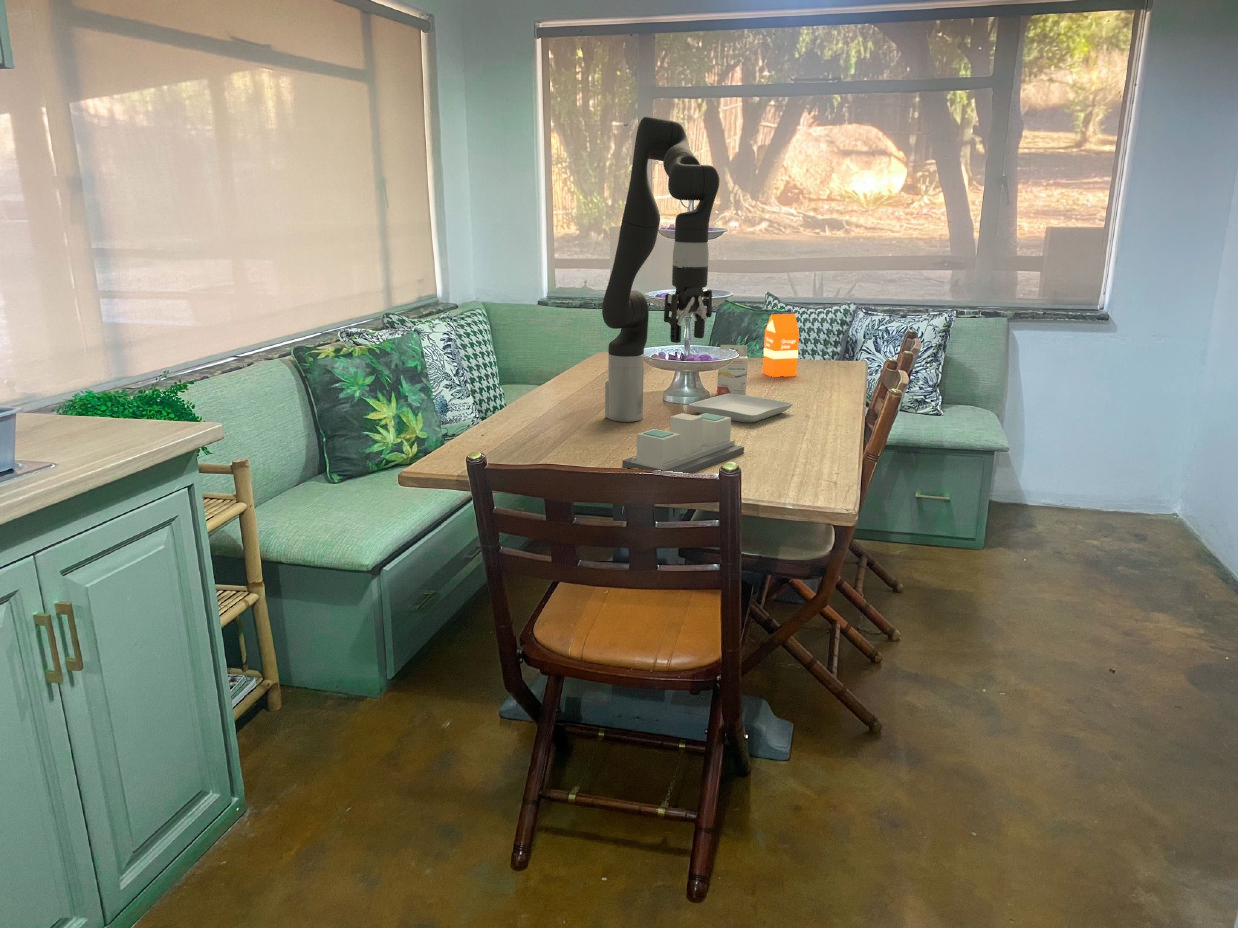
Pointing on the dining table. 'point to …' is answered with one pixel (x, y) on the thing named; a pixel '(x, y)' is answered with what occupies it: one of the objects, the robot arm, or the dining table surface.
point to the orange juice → (781, 346)
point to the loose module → (687, 432)
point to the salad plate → (740, 407)
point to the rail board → (665, 448)
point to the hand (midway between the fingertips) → (687, 340)
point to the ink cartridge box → (733, 373)
